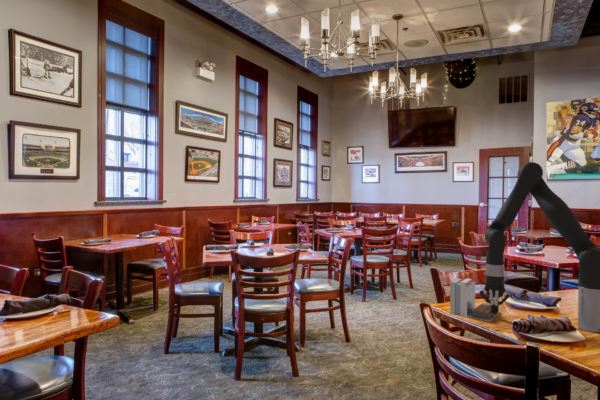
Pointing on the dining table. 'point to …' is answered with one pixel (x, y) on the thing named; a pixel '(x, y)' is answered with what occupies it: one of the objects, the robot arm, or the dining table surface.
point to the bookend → (469, 299)
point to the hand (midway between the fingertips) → (494, 313)
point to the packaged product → (483, 313)
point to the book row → (458, 296)
